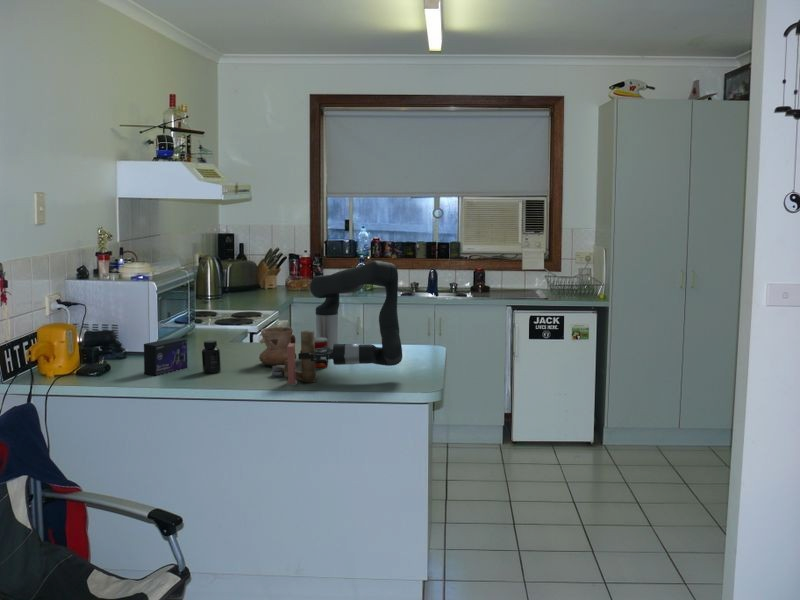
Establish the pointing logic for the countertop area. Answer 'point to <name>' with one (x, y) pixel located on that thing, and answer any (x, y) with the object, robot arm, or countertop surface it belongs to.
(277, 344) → the ceramic jug
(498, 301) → the countertop surface
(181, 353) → the box
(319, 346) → the canned food
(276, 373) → the pivot disc
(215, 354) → the supplement bottle
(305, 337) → the brown l-shaped piece
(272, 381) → the countertop surface
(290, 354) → the block
